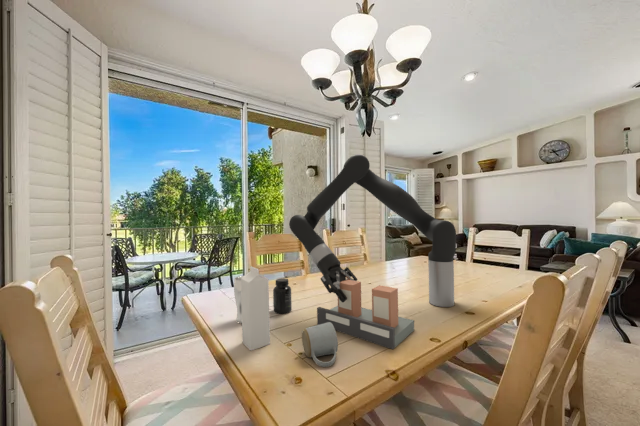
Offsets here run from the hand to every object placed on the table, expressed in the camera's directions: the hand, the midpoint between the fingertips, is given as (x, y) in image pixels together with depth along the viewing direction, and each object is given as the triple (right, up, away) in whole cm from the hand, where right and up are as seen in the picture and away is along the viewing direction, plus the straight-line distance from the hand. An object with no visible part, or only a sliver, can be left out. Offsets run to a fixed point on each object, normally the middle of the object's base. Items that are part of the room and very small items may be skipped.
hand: (352, 297), depth 90 cm
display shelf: (+4, -9, -1) cm, 10 cm away
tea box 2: (+9, -6, -7) cm, 13 cm away
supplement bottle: (-25, -10, +14) cm, 30 cm away
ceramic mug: (-10, -10, -19) cm, 23 cm away
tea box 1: (-1, -6, +1) cm, 6 cm away
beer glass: (-37, -10, +6) cm, 39 cm away
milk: (-29, -10, -11) cm, 33 cm away
